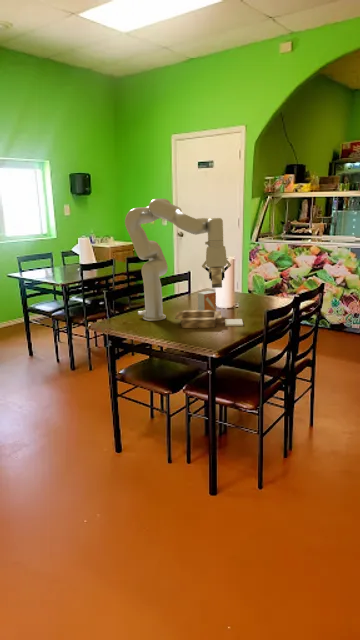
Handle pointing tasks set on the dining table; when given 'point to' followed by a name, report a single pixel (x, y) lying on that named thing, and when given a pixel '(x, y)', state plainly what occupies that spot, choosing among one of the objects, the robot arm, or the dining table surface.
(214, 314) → the brown wooden tray
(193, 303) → the dining table surface
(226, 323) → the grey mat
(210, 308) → the small box
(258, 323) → the dining table surface
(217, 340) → the dining table surface
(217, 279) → the block
